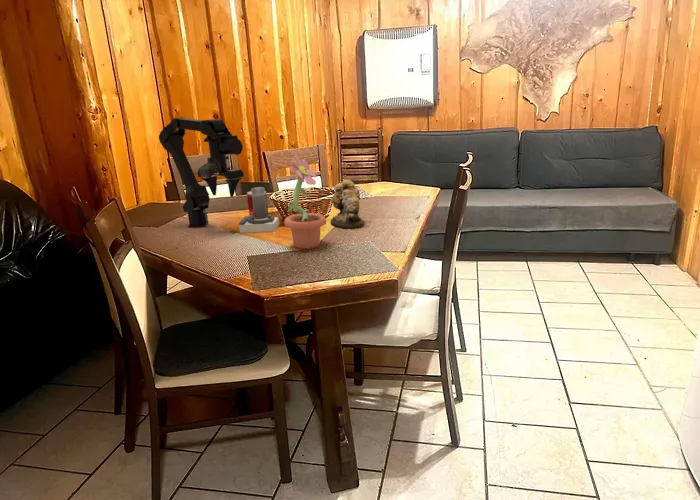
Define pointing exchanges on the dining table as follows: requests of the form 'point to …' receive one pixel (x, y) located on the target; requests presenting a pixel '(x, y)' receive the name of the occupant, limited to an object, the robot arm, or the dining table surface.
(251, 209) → the canned food
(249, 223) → the square flange plate
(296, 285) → the dining table surface
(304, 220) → the decorative flower
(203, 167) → the robot arm
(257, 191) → the gray tumbler
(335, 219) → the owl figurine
